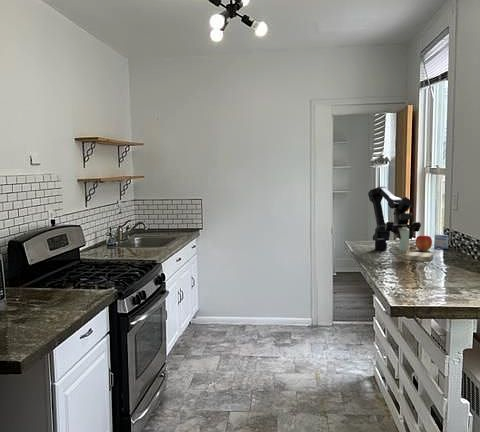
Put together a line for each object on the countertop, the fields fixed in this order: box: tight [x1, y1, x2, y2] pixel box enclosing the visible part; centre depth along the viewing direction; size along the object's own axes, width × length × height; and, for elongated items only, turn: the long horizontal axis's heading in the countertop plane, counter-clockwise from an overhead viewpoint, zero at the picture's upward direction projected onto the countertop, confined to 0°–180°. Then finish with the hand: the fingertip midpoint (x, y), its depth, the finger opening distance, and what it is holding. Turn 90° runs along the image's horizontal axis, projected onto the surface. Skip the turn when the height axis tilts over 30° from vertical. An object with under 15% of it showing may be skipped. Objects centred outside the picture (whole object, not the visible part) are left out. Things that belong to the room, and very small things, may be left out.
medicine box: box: [433, 234, 449, 250], centre depth 304 cm, size 8×4×9 cm, turn 62°
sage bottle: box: [398, 227, 410, 252], centre depth 265 cm, size 5×5×13 cm
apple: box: [415, 235, 433, 252], centre depth 294 cm, size 10×10×10 cm
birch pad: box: [404, 251, 434, 262], centre depth 270 cm, size 13×13×2 cm
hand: (405, 238), depth 263 cm, fingers closed on sage bottle, 5 cm apart
